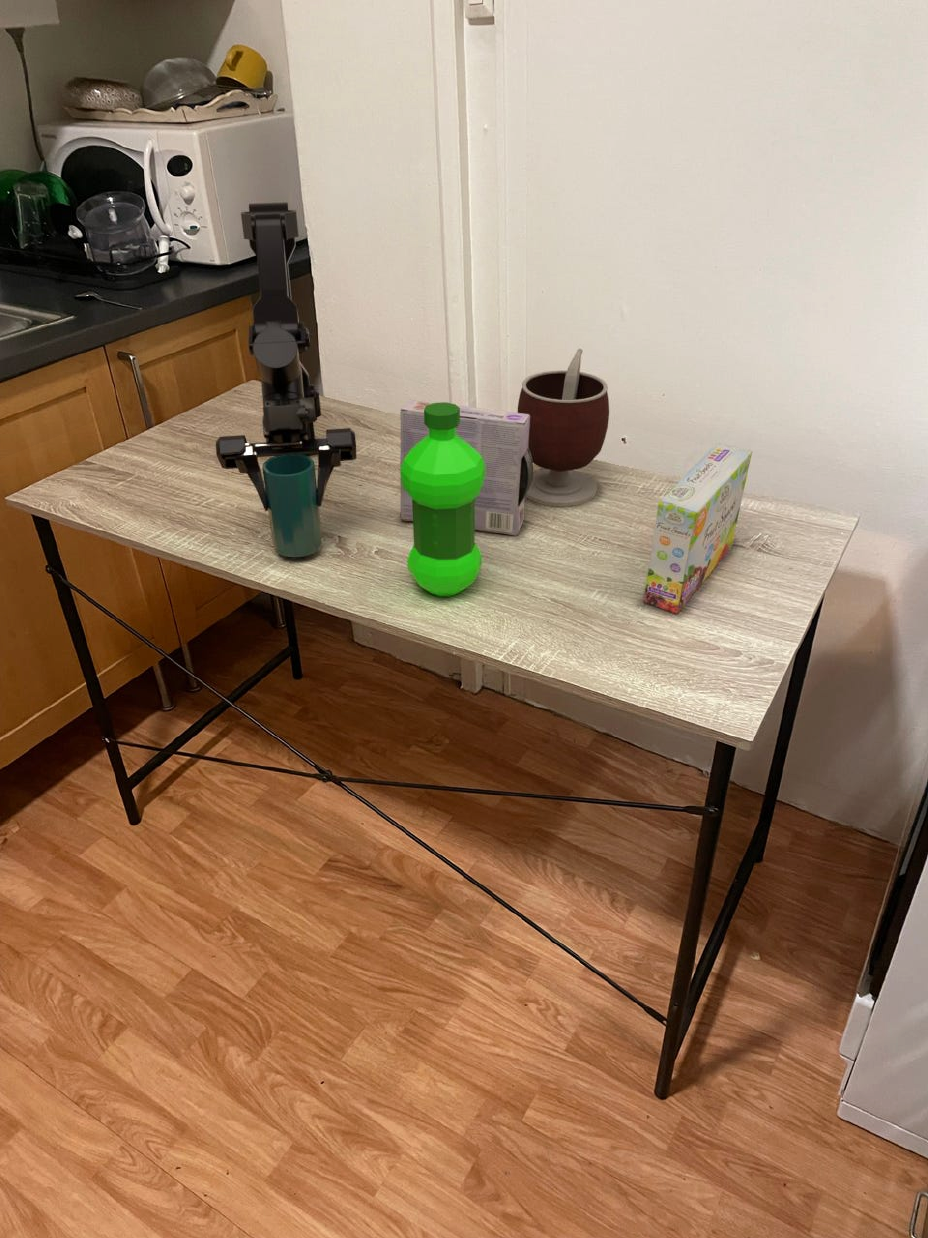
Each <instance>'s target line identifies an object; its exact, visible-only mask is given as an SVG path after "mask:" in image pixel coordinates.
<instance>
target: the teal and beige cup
mask: <svg viewBox="0 0 928 1238" xmlns="http://www.w3.org/2000/svg"><path fill="white" fill-rule="evenodd" d="M262 463H263V464H262V467H261V471H262V478H263V482H264V487H265V492H266V498H267V504H268V511H267V513H268V519H269V526H270V527H269V528H270V534H271V540H272V546H273V549H274V551H275V552H276V553H277V554H279V555H281V556H282V557H283V556H284V557H286V558H301V557H307V556H311V555H313V554H315V553H317V552H318V551H319V550H320V549H321V548H322V546H323V532H322V522H321V513H320V507H318V500H317V475H316V474H317V473H316V466H315V465H316V464H315V460H313V459H312V457H310V456H309V455H308V456H305V455H302V454H282V455H278V456H271V457H270V458H268V459H266V460H265V461H263V462H262Z"/></svg>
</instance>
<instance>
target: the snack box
mask: <svg viewBox="0 0 928 1238" xmlns="http://www.w3.org/2000/svg"><path fill="white" fill-rule="evenodd" d="M752 455H753V450H749V449H744V448H740V447H736V446H731V445H726V444H722V443H715V444H714V446H713V447H711V448H710V449H709V451H707V453H706V454H704V456H702V458H701V459H700V460H699V461H698V462H697V463H696V464H695V465H694V466H693V467H691V469H690V470H689V471H688V472H687V473H686V474H685V475H684V476H683V477H682V478H681V479H680V480H679V481H678V483H676V484H675V485H674V486H673V487H672V489H670V490H669V491H668V492H667V493H666V494H664V496H663V497H662V498H661V499H660V500H659V502H658V506H657V511H656V519H655V526H654V531H653V538H652V542H651V543H652V544H651V550H650V556H649V562H648V568H647V575H646V582H645V587H644V592H643V593H644V594H643V599H642V603H644V604H648V605H651V606H655V607H657V608H659V609H662V610H665V611H667V612H670V613H673V614H680V612H681V611H682V609H683V608H684V607H685V605H687V604H688V603H689V601H690V599H691V598H692V597H693V596H694V594H696V592H697V590H698V589H699V588H700V587H701V585H702V584H703V583H704V582H705V580H706V579H707V578H708V576H709V575H710V574H711V573H712V572H713V570H714V569H715V568H716V567H717V565H718V564H719V563H720V562H721V561H722V559H723V558H724V557H725V556H726V554H728V552H729V551H730V549H731V548H732V546H733V545H734V539H735V534H736V529H737V525H738V520H739V514H740V511H741V505H742V501H743V496H744V491H745V486H746V482H747V477H748V472H749V467H750V463H751V459H752Z"/></svg>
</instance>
